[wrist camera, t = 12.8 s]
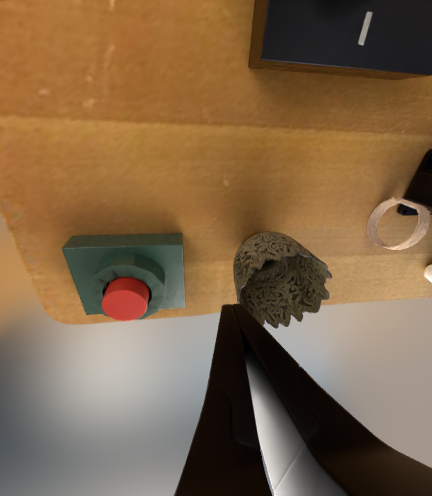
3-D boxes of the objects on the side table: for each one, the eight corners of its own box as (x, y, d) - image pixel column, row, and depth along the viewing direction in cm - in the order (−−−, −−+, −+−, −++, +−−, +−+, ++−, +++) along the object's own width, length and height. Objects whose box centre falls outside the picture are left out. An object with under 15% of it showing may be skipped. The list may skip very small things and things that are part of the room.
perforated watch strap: (399, 196, 23) (447, 216, 19) (370, 236, 25) (408, 261, 21) (379, 190, 22) (426, 208, 18) (352, 231, 25) (387, 256, 20)
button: (146, 275, 20) (144, 288, 18) (151, 304, 21) (149, 319, 20) (103, 277, 19) (96, 291, 18) (111, 307, 21) (106, 322, 19)
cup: (218, 217, 22) (235, 266, 15) (291, 205, 22) (341, 248, 15) (224, 276, 26) (241, 337, 19) (287, 265, 26) (324, 320, 19)
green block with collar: (182, 232, 22) (183, 255, 18) (184, 293, 26) (185, 321, 23) (71, 235, 20) (50, 260, 17) (92, 299, 25) (79, 329, 21)
